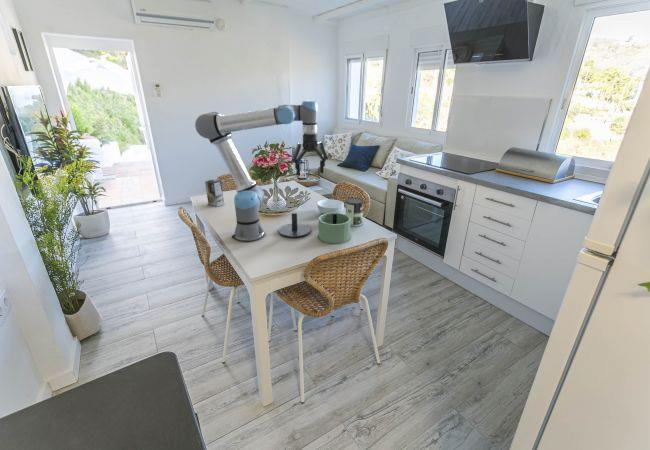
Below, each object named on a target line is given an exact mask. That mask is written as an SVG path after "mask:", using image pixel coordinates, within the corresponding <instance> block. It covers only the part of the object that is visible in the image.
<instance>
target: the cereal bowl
mask: <svg viewBox="0 0 650 450" xmlns="http://www.w3.org/2000/svg"><path fill="white" fill-rule="evenodd" d="M316 205H317V210H318V211H319V212H320V213H322V215H323V214H326V213H334V212H336V213H342V212H343V210H344V207H345V204H344V202H343V201H341V200H339V199H330V198H329V199H328V198H326V199H321V200H318V201H317V204H316Z"/></svg>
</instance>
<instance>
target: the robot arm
mask: <svg viewBox="0 0 650 450" xmlns="http://www.w3.org/2000/svg"><path fill="white" fill-rule="evenodd" d="M293 122H302V124H301V125H302V126H301V127H302V143H298V142H297V143H296V148H295V150H294V153H293V155H292V158H291V160H290V161H291V162H292V163H293V164H294V169H295V170H296V176H300V177H301V163H300V161H301V160H302V158H303V157H304V156H305V155H306V153H310V152H312V153H313V152H315V154H316V155H317V156H318V157H319V158H320V160H319V172H320V173H321V174H324V167H326V161H327V160H329V156H328V154H327V152H326V150H325V147H324V143H323V142H322V141H319V142H318V134H317V133H318V102H317V101H316V100H302V102H301V104H278V106H277V107H272V108H266V109H259V110H252V111H246V112H238V113H233V114H225V115H224V114H222V113H220V112H217V111H211V112H207V113H202V114H200V115H199V116H198V117H197V118H196V119H195V123H194V127H195V130H196V133H197V134H198V135H199V136H200V137H202V138H204V139H208V141H209V143H210V144H211V145H212V146H213V145H214V146H215V147H216V149H217V151H218V153H219V155H220V157H221V158H222V160H223V162H224V164H225V166H226V168H227V170H228V172H229V173H230V175H231V177H232V179H233V181H234V183H235V185H236V194H235V195H234V197H233V198H234V199H233V203H234V210H235V211H234V212H235V218H236V219H235V220H236V225H235V229H234V234H233V235H231V238H232V239H233V238H234V239H236V240H237V241H240V242H254V241H258V240H260V239H262V238H263V237H264V235H265V231H264V229H263V226H262V224H261V221H260V211H259V209H260V208H261V206H262V205H263V203H264V200H265V192H264V190H263V189H262V188H261V186H259V185H258V183H257V181H255V180H253V179H252V178H251V175H250V173H249V172H248V170H247V167H246V165H245V163H244V162H243V160H242V158H241V156H240V154H239V152H238V150H237V148H236V146H235V144H234V142H233V140H232V136H233V134H232V133H233V132H241V131H246V130H253V129H259V128H267V127H273V126H279V125H290V124H292V123H293ZM301 148H302V149H301ZM318 148H319V149H320V151H321V152H320V151H319V149H318ZM300 151H301V152H300Z"/></svg>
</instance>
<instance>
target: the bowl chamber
mask: <svg viewBox="0 0 650 450" xmlns="http://www.w3.org/2000/svg"><path fill="white" fill-rule="evenodd" d="M332 222H333V213H326V214H323V213H322V214H321V215H319V217H318V239H319V240H320V241H321V242H324V243H327V244H341V243H346V242H347V241H349V240H350V239H351V238H350V237H351V226H350V222H351V219H350V217H349V216H347V215H345V213H342V212H340V213H337V224H332Z"/></svg>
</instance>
